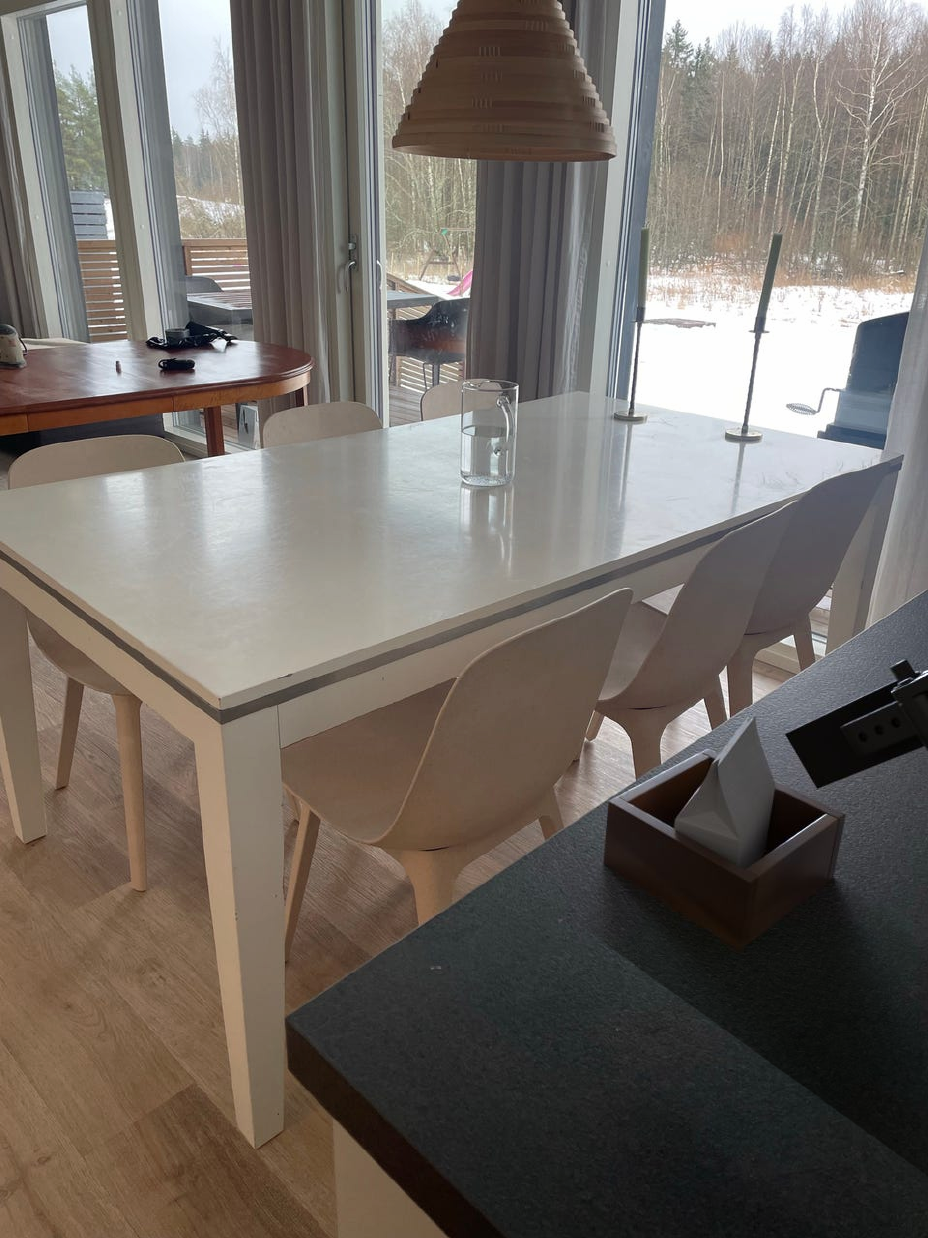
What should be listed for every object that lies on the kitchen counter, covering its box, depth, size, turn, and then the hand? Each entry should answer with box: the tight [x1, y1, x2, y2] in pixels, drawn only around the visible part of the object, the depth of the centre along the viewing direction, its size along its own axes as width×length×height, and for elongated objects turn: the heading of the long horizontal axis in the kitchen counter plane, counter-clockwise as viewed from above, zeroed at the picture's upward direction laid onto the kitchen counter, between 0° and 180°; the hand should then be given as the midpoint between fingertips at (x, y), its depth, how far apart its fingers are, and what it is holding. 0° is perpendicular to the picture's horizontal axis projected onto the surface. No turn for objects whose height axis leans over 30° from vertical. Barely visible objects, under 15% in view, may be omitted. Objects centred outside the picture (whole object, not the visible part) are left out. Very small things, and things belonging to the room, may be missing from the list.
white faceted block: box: [674, 715, 776, 869], centre depth 54 cm, size 4×7×10 cm, turn 147°
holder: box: [603, 748, 846, 951], centre depth 55 cm, size 10×10×6 cm
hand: (881, 712), depth 45 cm, fingers open, 13 cm apart
